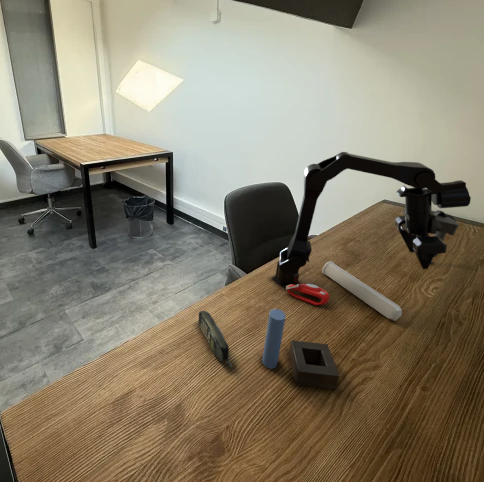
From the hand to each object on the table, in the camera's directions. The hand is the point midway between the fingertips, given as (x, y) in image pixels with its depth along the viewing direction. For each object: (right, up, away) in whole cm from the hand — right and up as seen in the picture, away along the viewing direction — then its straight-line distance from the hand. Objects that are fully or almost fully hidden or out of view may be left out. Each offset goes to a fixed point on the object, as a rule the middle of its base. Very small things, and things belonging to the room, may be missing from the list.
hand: (418, 260), depth 87 cm
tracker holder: (-29, -13, +8) cm, 33 cm away
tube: (-13, -13, +8) cm, 20 cm away
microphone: (+25, -7, +28) cm, 38 cm away
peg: (-46, -21, -16) cm, 53 cm away
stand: (-37, -21, -17) cm, 46 cm away
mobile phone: (-59, -19, -12) cm, 63 cm away
